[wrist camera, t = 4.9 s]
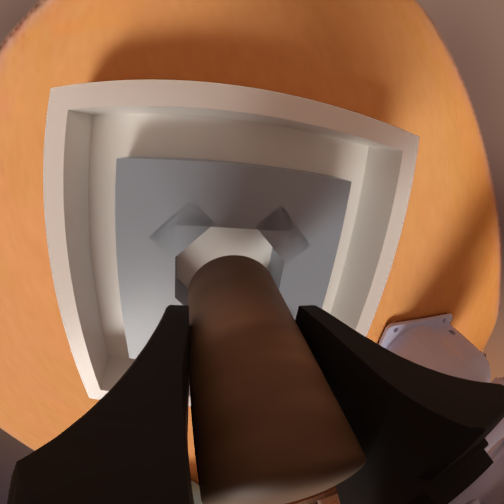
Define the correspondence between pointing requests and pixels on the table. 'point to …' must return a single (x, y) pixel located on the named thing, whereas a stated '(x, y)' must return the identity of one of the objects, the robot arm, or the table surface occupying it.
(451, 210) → the table surface
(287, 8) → the table surface
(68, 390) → the table surface
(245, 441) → the peg
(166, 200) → the box
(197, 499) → the toy flower bud
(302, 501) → the tall white shelf
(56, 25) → the table surface
